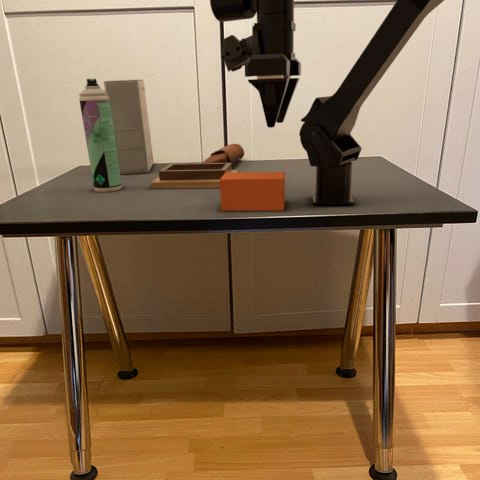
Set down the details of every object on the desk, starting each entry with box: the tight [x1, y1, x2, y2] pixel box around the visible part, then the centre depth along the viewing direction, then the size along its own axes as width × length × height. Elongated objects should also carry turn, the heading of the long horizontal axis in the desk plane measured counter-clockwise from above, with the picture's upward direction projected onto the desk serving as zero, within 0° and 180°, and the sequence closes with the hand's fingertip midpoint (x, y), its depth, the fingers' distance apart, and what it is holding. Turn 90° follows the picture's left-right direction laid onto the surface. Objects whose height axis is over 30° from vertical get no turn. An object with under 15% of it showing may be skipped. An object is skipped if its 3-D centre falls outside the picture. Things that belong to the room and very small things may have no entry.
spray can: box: [78, 78, 123, 193], centre depth 93 cm, size 6×6×20 cm
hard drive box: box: [103, 78, 154, 175], centre depth 115 cm, size 16×8×20 cm, turn 5°
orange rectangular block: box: [219, 171, 286, 212], centre depth 78 cm, size 6×10×5 cm, turn 84°
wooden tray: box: [150, 162, 240, 190], centre depth 101 cm, size 14×16×3 cm
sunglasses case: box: [202, 143, 245, 167], centre depth 120 cm, size 18×7×7 cm
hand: (275, 124), depth 81 cm, fingers open, 9 cm apart
